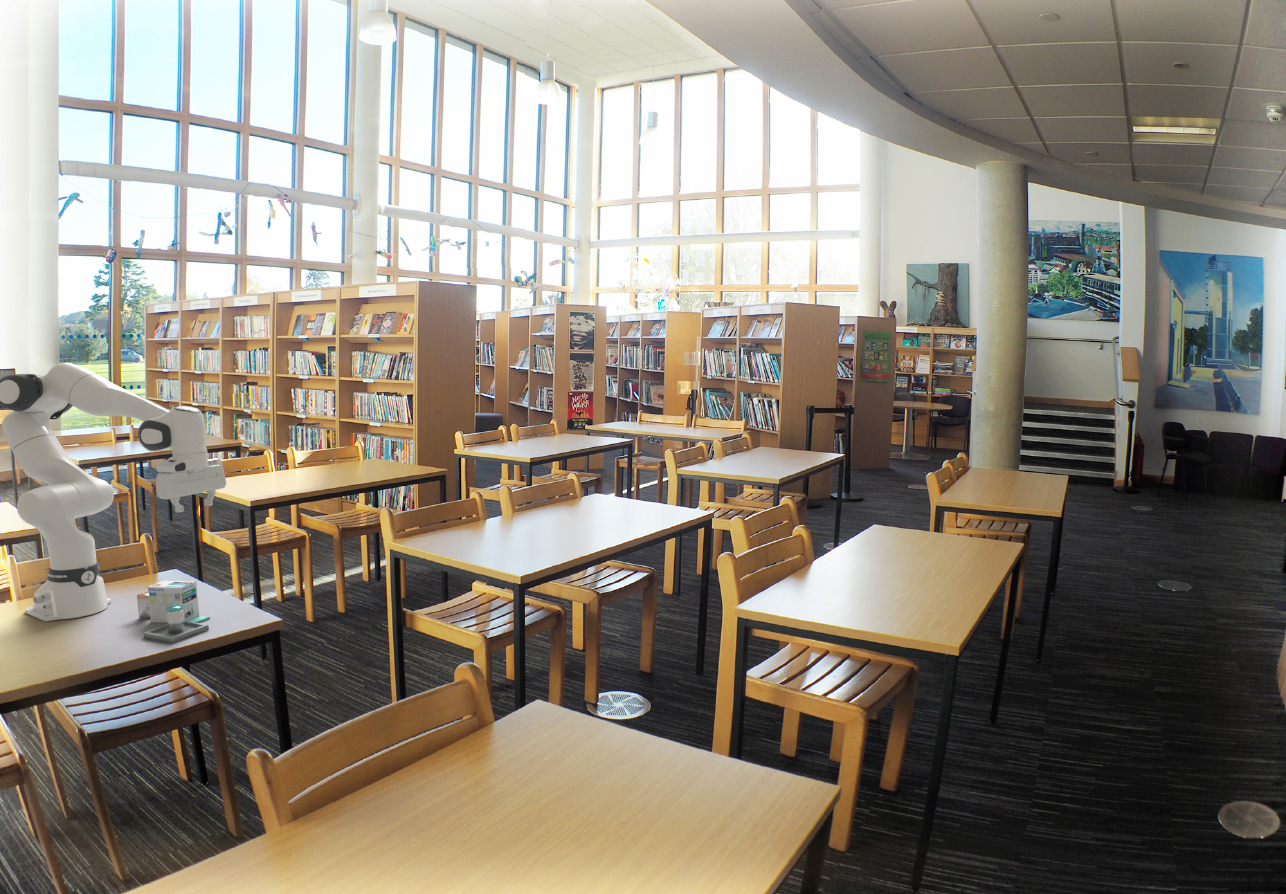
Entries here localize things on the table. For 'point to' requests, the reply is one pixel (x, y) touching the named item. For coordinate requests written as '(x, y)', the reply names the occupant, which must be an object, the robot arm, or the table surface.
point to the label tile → (199, 619)
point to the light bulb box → (173, 599)
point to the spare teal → (175, 619)
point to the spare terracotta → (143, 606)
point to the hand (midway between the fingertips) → (194, 508)
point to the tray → (163, 635)
